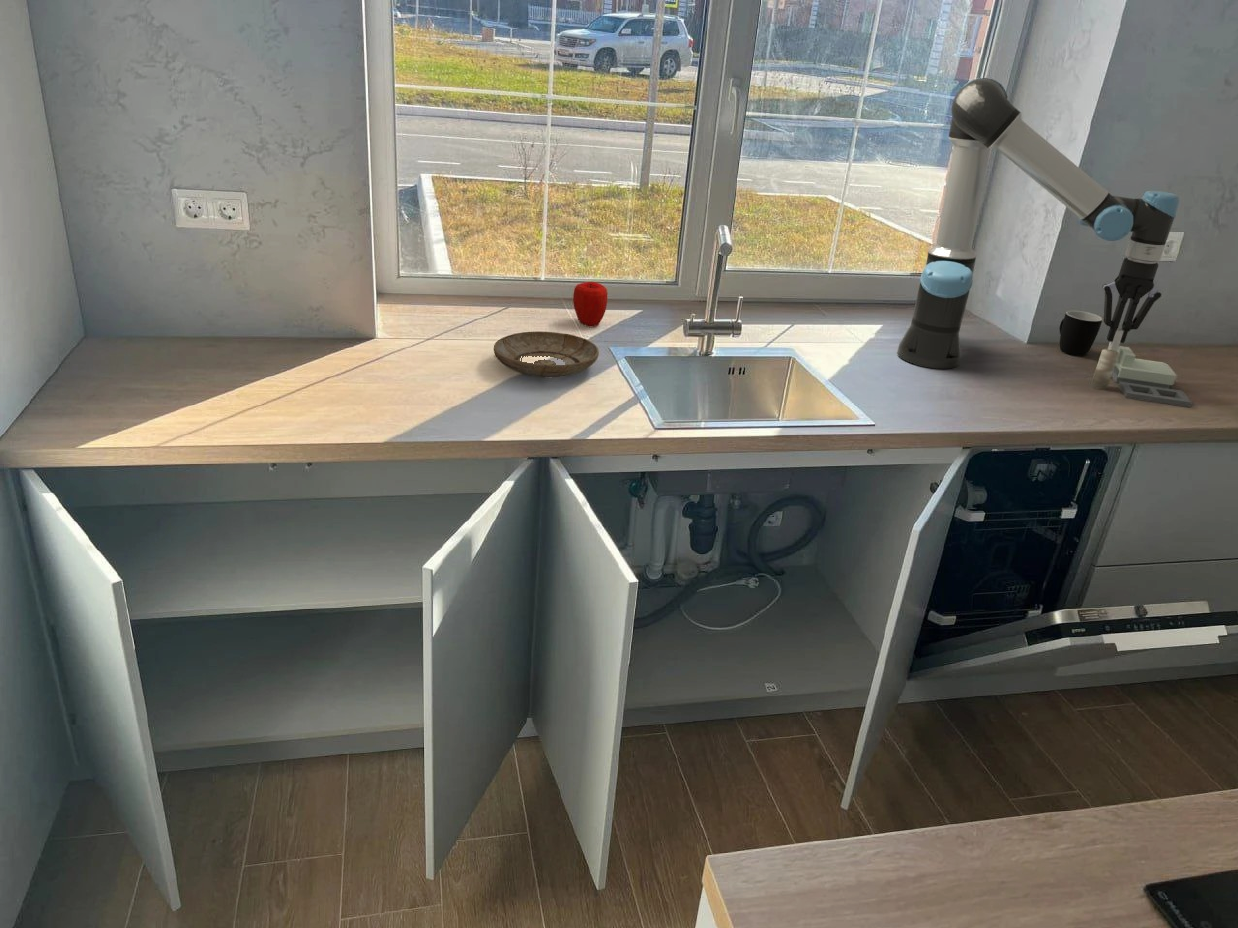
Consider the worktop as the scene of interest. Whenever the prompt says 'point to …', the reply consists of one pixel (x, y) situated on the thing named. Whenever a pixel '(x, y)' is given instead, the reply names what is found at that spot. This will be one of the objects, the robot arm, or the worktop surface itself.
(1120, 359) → the cover
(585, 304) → the apple
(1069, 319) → the mug
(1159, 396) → the socket board
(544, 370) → the brown round shallow bowl
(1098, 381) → the pin
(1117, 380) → the board
